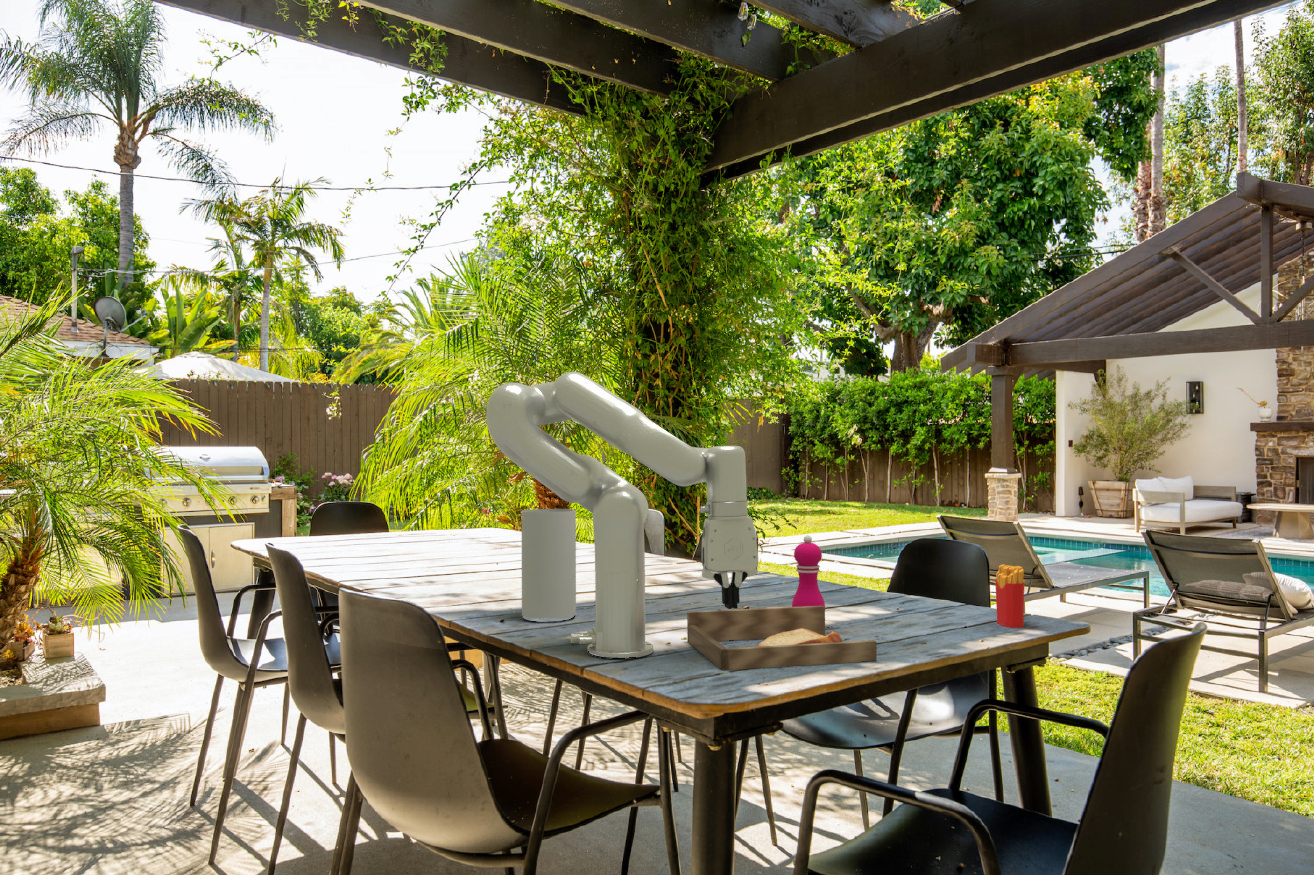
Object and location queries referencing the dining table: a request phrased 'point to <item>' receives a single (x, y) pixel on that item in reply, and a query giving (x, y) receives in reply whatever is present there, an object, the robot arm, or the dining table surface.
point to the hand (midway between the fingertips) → (731, 607)
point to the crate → (763, 624)
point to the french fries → (1010, 596)
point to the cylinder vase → (548, 563)
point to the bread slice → (800, 638)
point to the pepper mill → (808, 574)
